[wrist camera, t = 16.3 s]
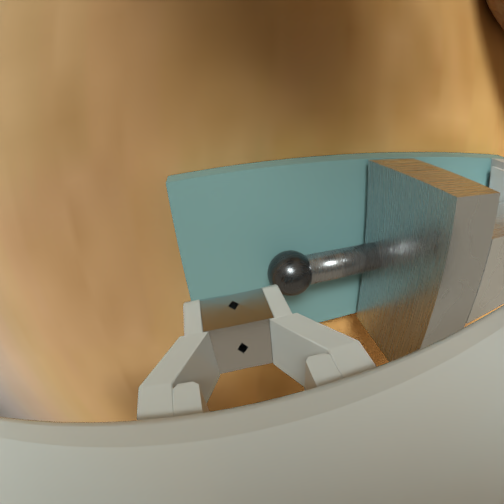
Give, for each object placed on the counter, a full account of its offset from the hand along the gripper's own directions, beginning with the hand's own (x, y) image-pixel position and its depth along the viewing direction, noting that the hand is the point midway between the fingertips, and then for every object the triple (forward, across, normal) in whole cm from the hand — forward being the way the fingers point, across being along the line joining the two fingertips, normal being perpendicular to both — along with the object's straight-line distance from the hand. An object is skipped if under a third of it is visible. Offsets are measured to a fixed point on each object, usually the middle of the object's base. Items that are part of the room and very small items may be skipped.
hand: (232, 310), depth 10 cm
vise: (+4, -8, 0) cm, 9 cm away
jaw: (+3, -6, 0) cm, 6 cm away
